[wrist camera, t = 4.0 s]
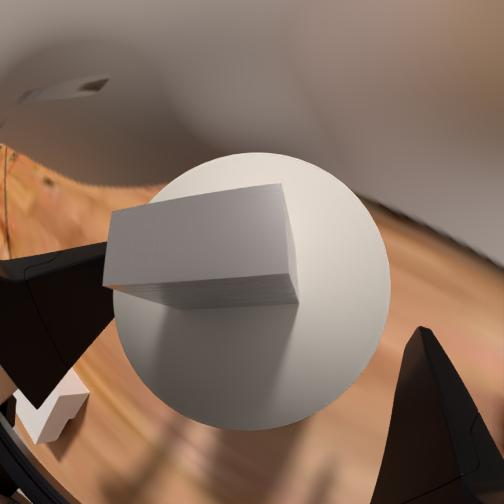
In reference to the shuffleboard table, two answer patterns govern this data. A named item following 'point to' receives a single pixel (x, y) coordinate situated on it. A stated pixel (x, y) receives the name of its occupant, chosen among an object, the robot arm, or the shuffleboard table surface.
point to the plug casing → (248, 290)
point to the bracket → (52, 409)
